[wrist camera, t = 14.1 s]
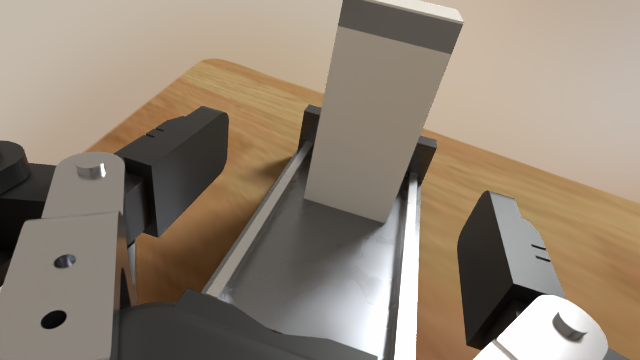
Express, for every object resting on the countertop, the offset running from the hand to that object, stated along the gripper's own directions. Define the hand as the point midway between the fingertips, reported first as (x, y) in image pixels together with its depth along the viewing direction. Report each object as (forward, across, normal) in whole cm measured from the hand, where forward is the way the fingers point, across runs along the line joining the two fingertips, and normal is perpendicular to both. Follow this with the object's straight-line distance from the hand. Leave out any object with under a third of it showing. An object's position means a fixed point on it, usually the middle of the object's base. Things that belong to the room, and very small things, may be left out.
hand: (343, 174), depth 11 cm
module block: (+9, 0, +7) cm, 12 cm away
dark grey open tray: (+6, 0, +8) cm, 10 cm away
